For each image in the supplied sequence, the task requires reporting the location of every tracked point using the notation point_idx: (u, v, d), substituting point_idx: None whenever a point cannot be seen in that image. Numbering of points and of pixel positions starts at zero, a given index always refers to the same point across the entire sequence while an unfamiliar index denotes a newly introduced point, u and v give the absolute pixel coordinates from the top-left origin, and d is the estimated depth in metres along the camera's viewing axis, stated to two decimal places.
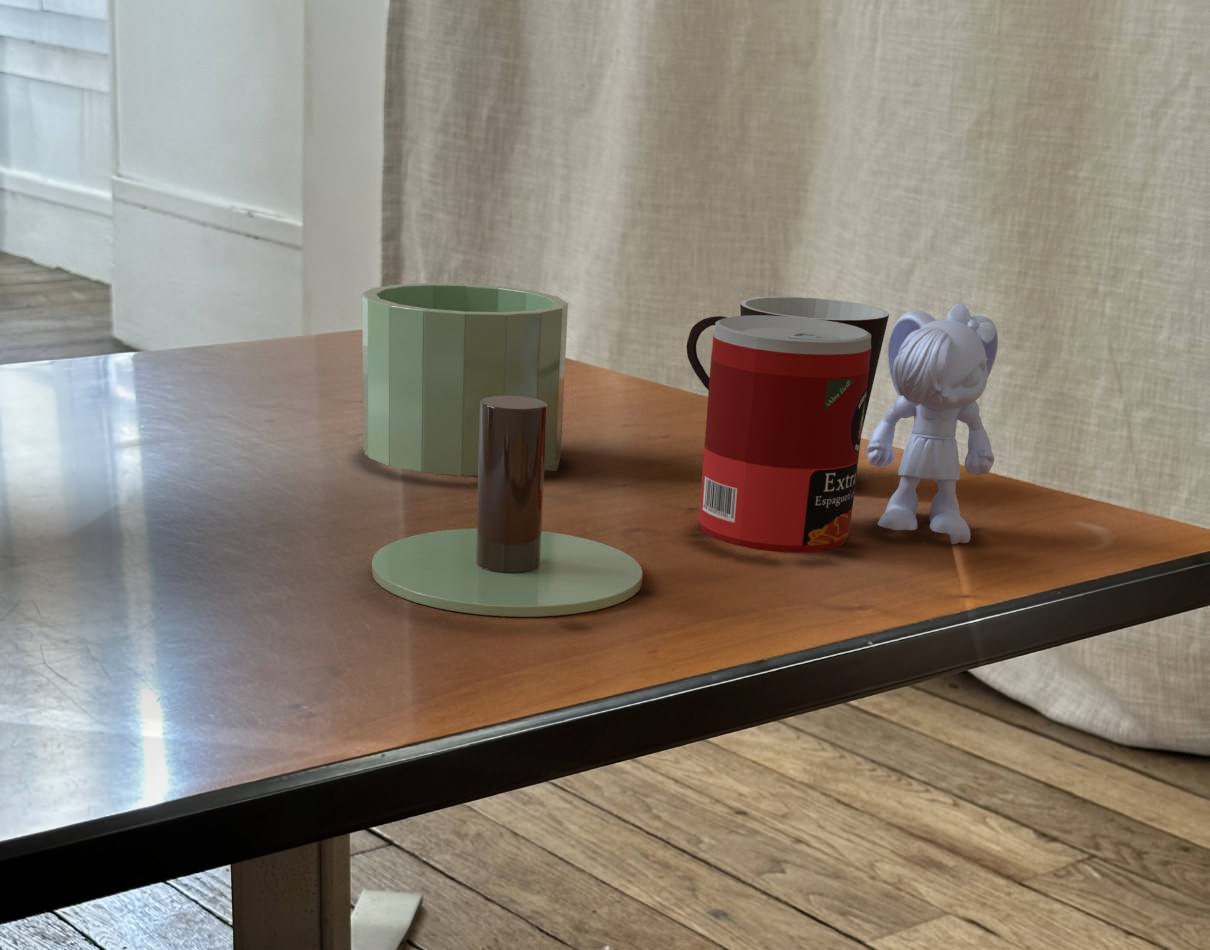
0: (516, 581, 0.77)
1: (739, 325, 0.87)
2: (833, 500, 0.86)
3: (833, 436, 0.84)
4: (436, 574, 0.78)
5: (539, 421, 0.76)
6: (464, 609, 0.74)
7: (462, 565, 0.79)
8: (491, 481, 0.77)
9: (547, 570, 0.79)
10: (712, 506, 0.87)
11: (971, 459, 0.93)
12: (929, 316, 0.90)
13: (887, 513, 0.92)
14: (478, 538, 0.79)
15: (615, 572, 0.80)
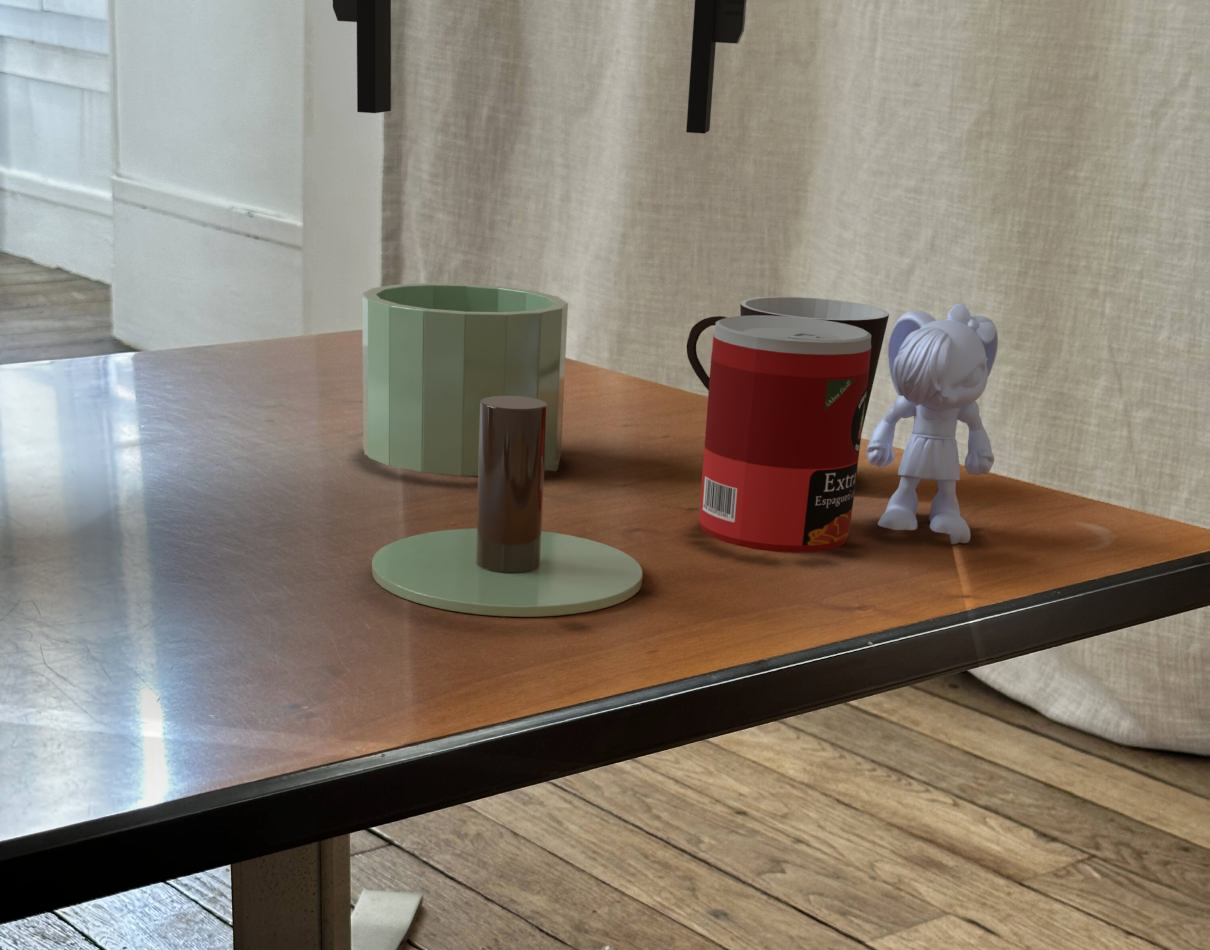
0: (516, 581, 0.77)
1: (739, 325, 0.87)
2: (833, 500, 0.86)
3: (833, 436, 0.84)
4: (436, 574, 0.78)
5: (539, 421, 0.76)
6: (464, 609, 0.74)
7: (462, 565, 0.79)
8: (491, 481, 0.77)
9: (547, 570, 0.79)
10: (712, 506, 0.87)
11: (971, 459, 0.93)
12: (929, 316, 0.90)
13: (887, 513, 0.92)
14: (478, 538, 0.79)
15: (615, 572, 0.80)
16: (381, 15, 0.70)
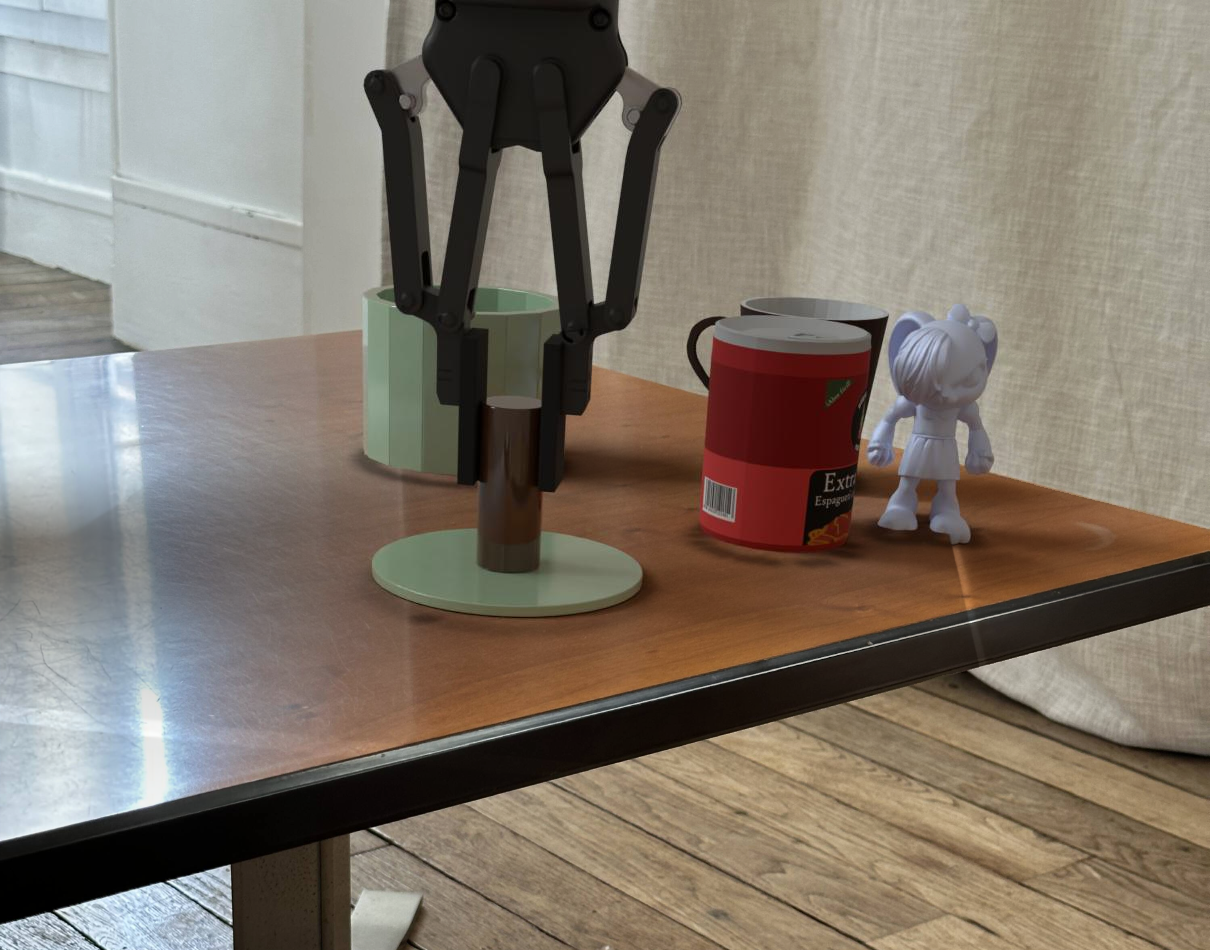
0: (516, 581, 0.77)
1: (739, 325, 0.87)
2: (833, 500, 0.86)
3: (833, 436, 0.84)
4: (436, 574, 0.78)
5: (539, 421, 0.76)
6: (464, 609, 0.74)
7: (462, 565, 0.79)
8: (491, 481, 0.77)
9: (547, 570, 0.79)
10: (712, 506, 0.87)
11: (971, 459, 0.93)
12: (929, 316, 0.90)
13: (887, 513, 0.92)
14: (478, 538, 0.79)
15: (615, 572, 0.80)
16: (480, 398, 0.77)
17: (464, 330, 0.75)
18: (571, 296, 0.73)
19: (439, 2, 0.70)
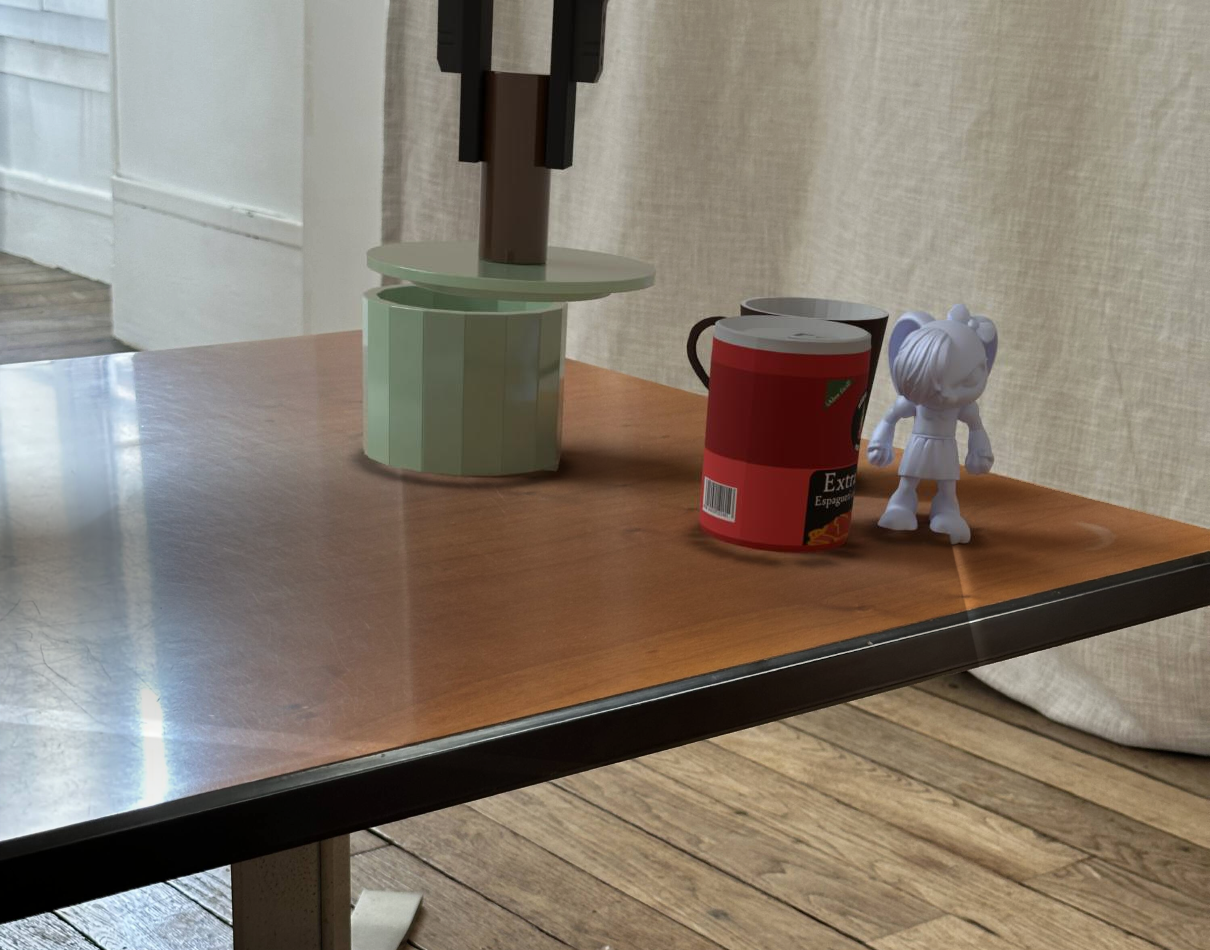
0: (521, 268, 0.72)
1: (739, 325, 0.87)
2: (833, 500, 0.86)
3: (833, 436, 0.84)
4: (435, 261, 0.72)
5: (547, 90, 0.71)
6: (465, 284, 0.69)
7: (463, 258, 0.74)
8: (495, 158, 0.71)
9: (555, 264, 0.74)
10: (712, 506, 0.87)
11: (971, 459, 0.93)
12: (929, 316, 0.90)
13: (887, 513, 0.92)
14: (480, 227, 0.73)
15: (627, 268, 0.74)
16: (484, 67, 0.71)
17: None
18: None
19: None
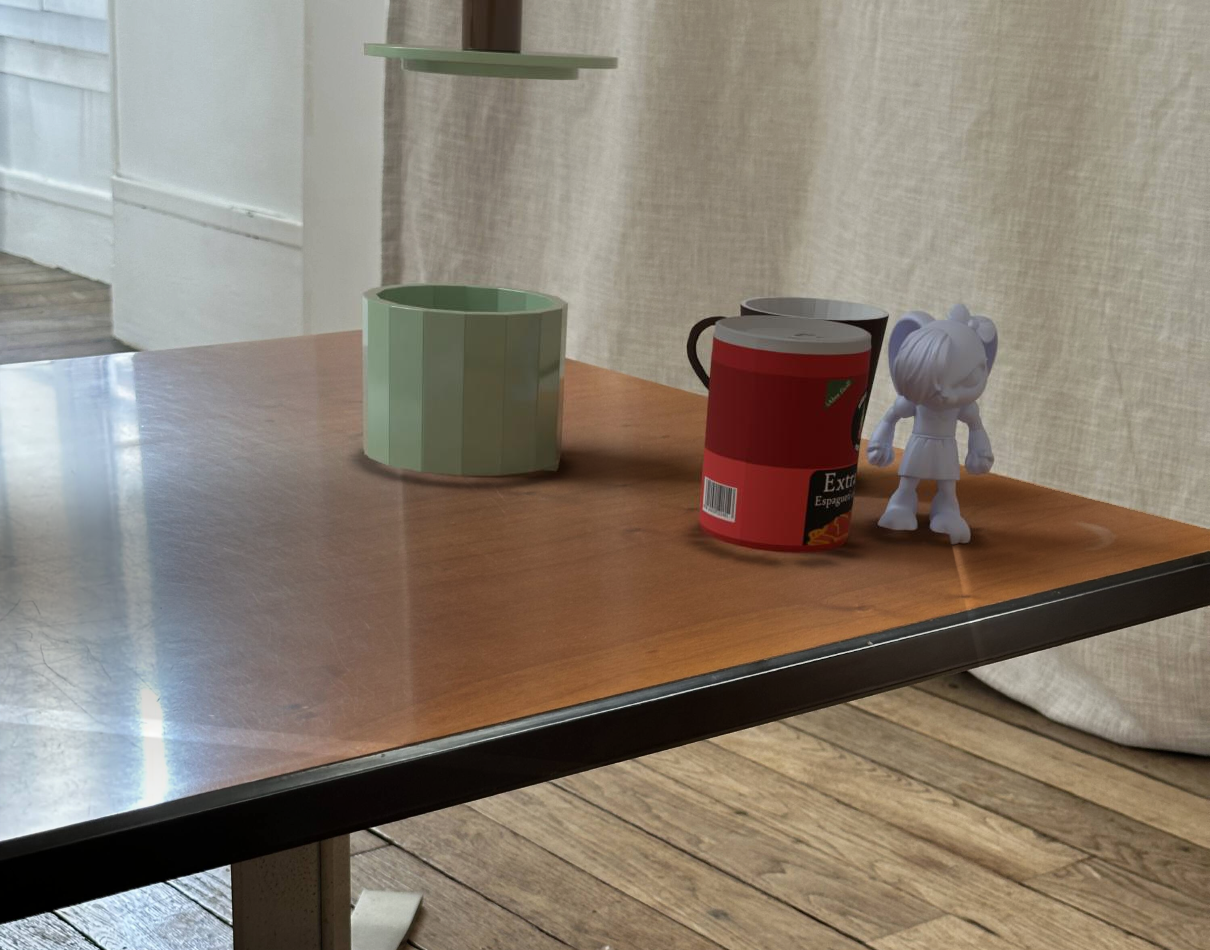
0: (497, 51, 0.82)
1: (739, 325, 0.87)
2: (833, 500, 0.86)
3: (833, 436, 0.84)
4: None
5: None
6: (447, 57, 0.79)
7: None
8: None
9: None
10: (712, 506, 0.87)
11: (971, 459, 0.93)
12: (929, 316, 0.90)
13: (887, 513, 0.92)
14: (463, 19, 0.84)
15: None
16: None
17: None
18: None
19: None
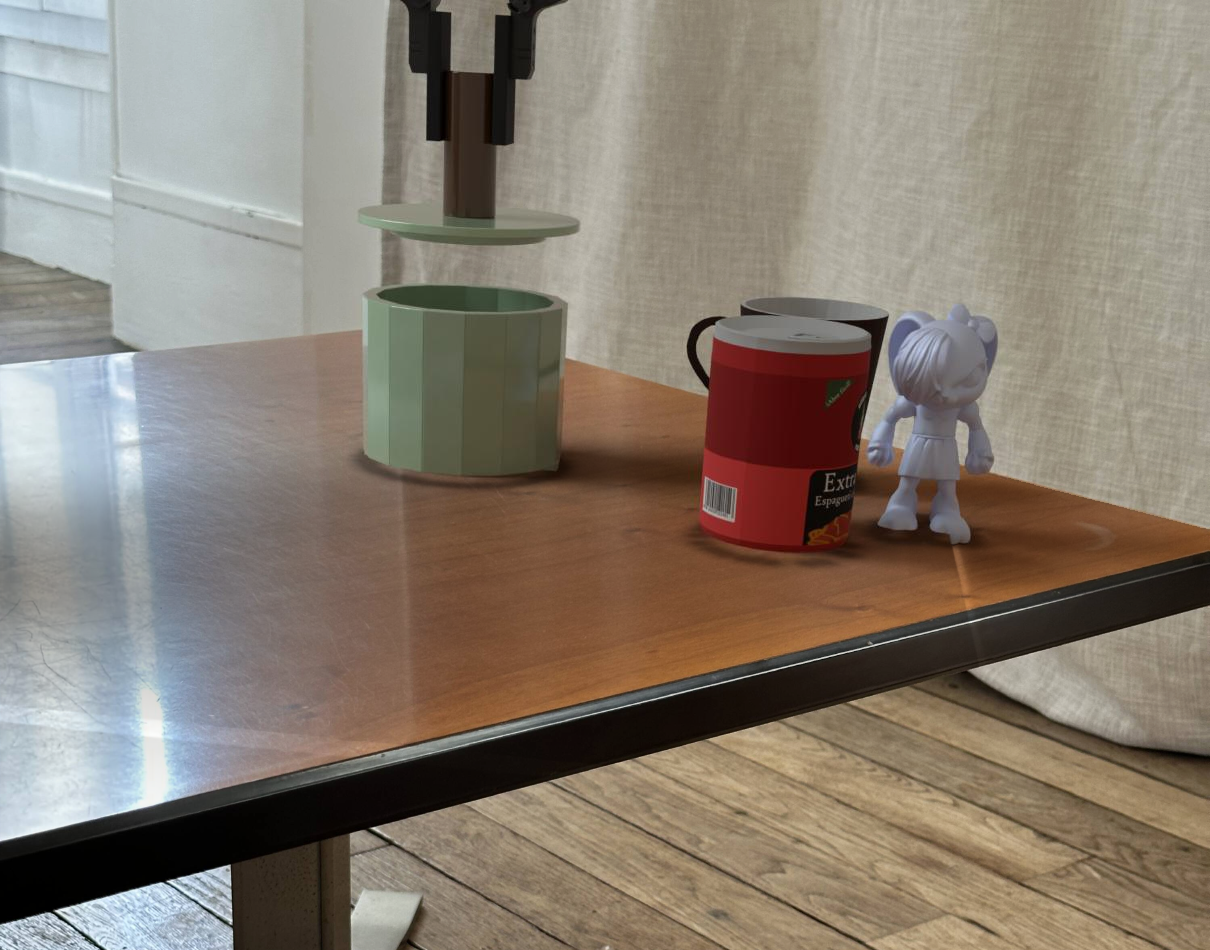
0: (475, 220, 0.94)
1: (739, 325, 0.87)
2: (833, 500, 0.86)
3: (833, 436, 0.84)
4: (409, 216, 0.95)
5: (492, 85, 0.93)
6: (431, 231, 0.91)
7: (431, 214, 0.96)
8: (453, 137, 0.94)
9: (501, 218, 0.96)
10: (712, 506, 0.87)
11: (971, 459, 0.93)
12: (929, 316, 0.90)
13: (887, 513, 0.92)
14: (444, 190, 0.96)
15: (557, 221, 0.97)
16: (444, 68, 0.94)
17: (430, 7, 0.92)
18: None
19: None
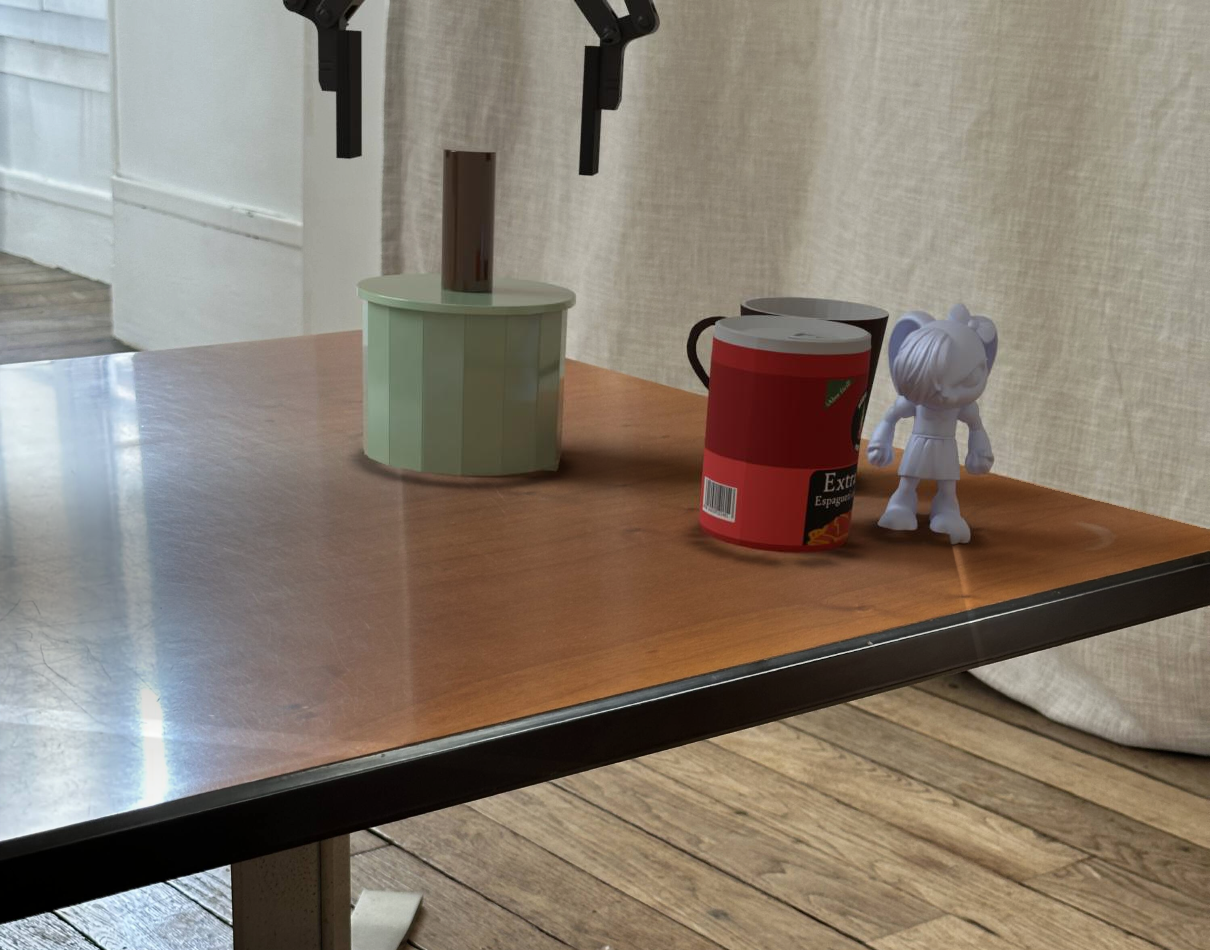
0: (472, 295, 0.96)
1: (739, 325, 0.87)
2: (833, 500, 0.86)
3: (833, 436, 0.84)
4: (408, 291, 0.96)
5: (490, 163, 0.95)
6: (429, 308, 0.93)
7: (429, 288, 0.98)
8: (451, 214, 0.96)
9: (498, 292, 0.98)
10: (712, 506, 0.87)
11: (971, 459, 0.93)
12: (929, 316, 0.90)
13: (887, 513, 0.92)
14: (442, 264, 0.97)
15: (553, 294, 0.98)
16: (354, 86, 0.95)
17: (339, 26, 0.93)
18: (594, 10, 0.91)
19: None
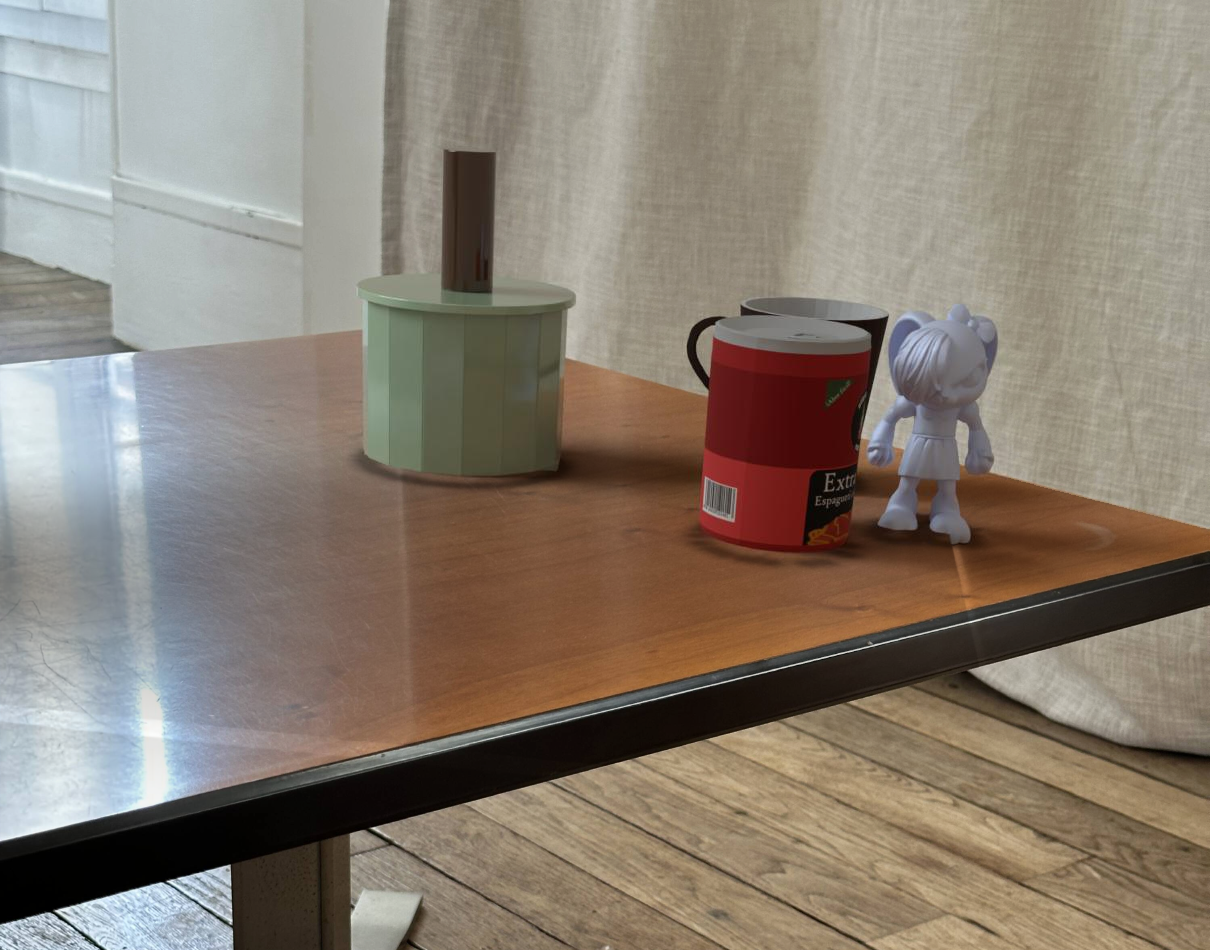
0: (472, 295, 0.96)
1: (739, 325, 0.87)
2: (833, 500, 0.86)
3: (833, 436, 0.84)
4: (408, 291, 0.96)
5: (490, 163, 0.95)
6: (429, 308, 0.93)
7: (429, 288, 0.98)
8: (451, 214, 0.96)
9: (498, 292, 0.98)
10: (712, 506, 0.87)
11: (971, 459, 0.93)
12: (929, 316, 0.90)
13: (887, 513, 0.92)
14: (442, 264, 0.97)
15: (553, 294, 0.98)
16: None
17: None
18: None
19: None
